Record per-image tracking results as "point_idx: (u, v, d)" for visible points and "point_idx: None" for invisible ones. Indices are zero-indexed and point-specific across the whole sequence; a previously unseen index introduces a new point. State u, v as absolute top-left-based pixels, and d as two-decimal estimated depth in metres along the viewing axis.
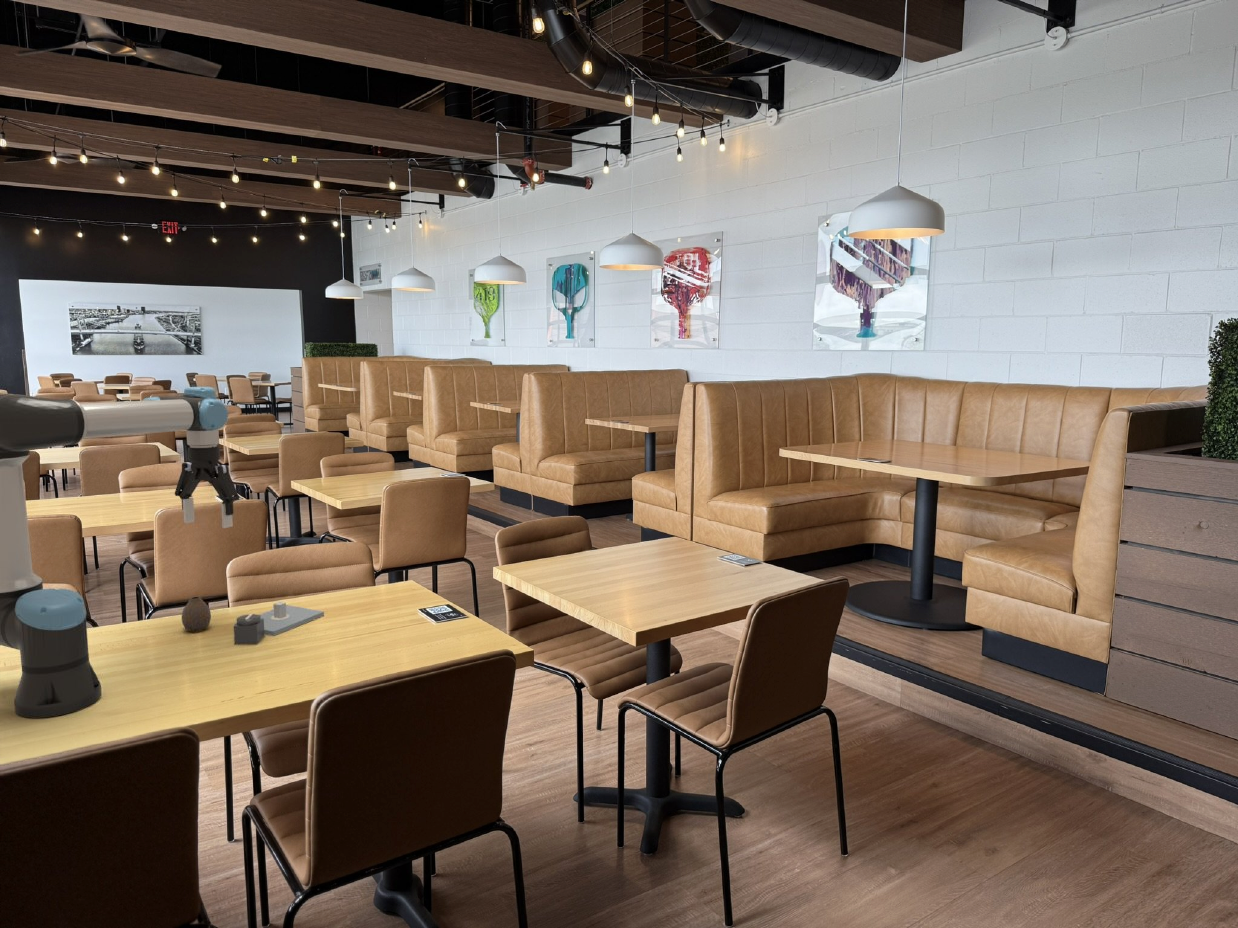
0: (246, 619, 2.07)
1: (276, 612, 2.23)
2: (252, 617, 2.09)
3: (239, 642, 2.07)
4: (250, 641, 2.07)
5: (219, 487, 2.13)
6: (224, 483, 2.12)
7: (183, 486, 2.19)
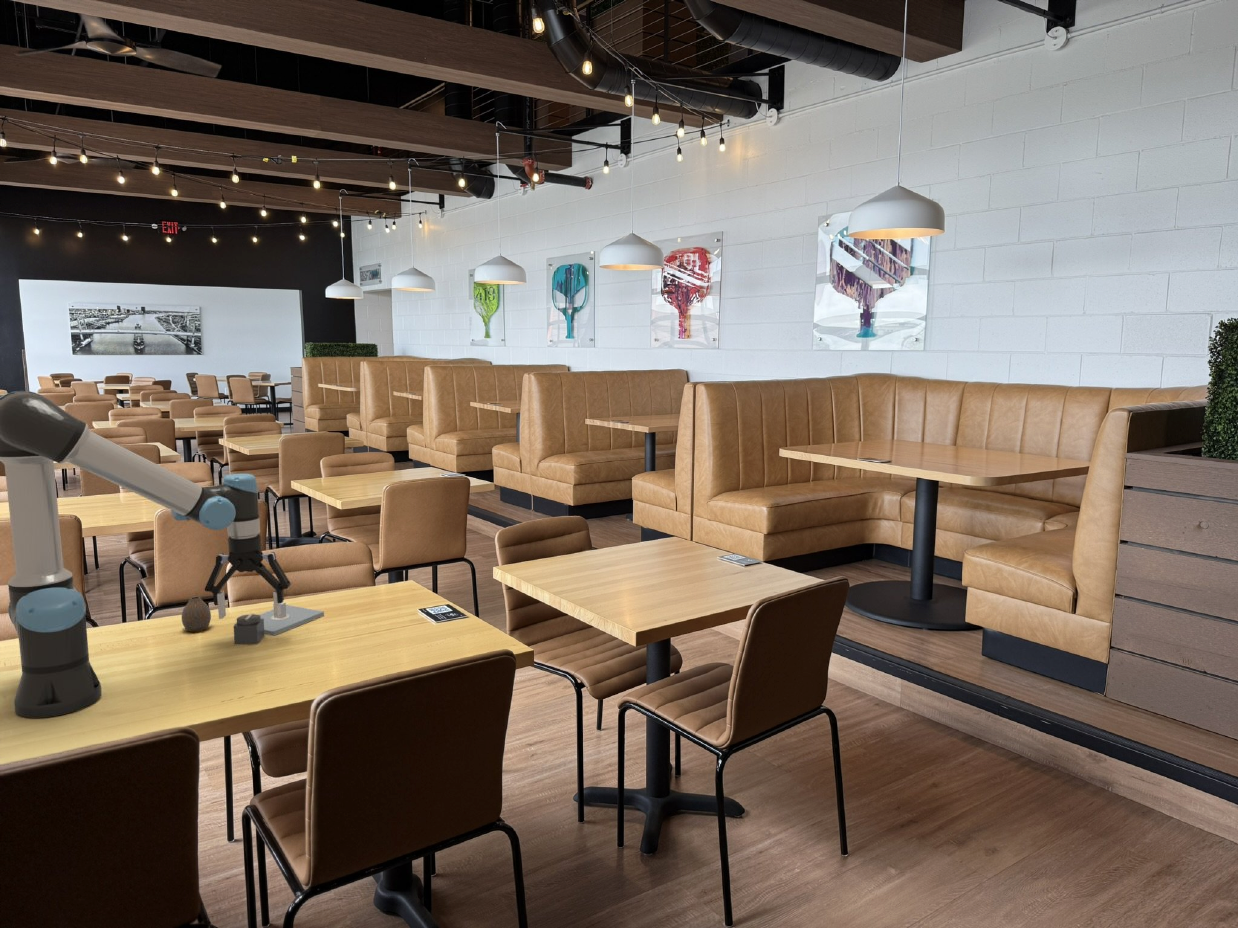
0: (246, 619, 2.07)
1: None
2: (252, 617, 2.09)
3: (239, 642, 2.07)
4: (250, 641, 2.07)
5: (269, 576, 2.07)
6: (277, 571, 2.07)
7: (214, 580, 2.06)
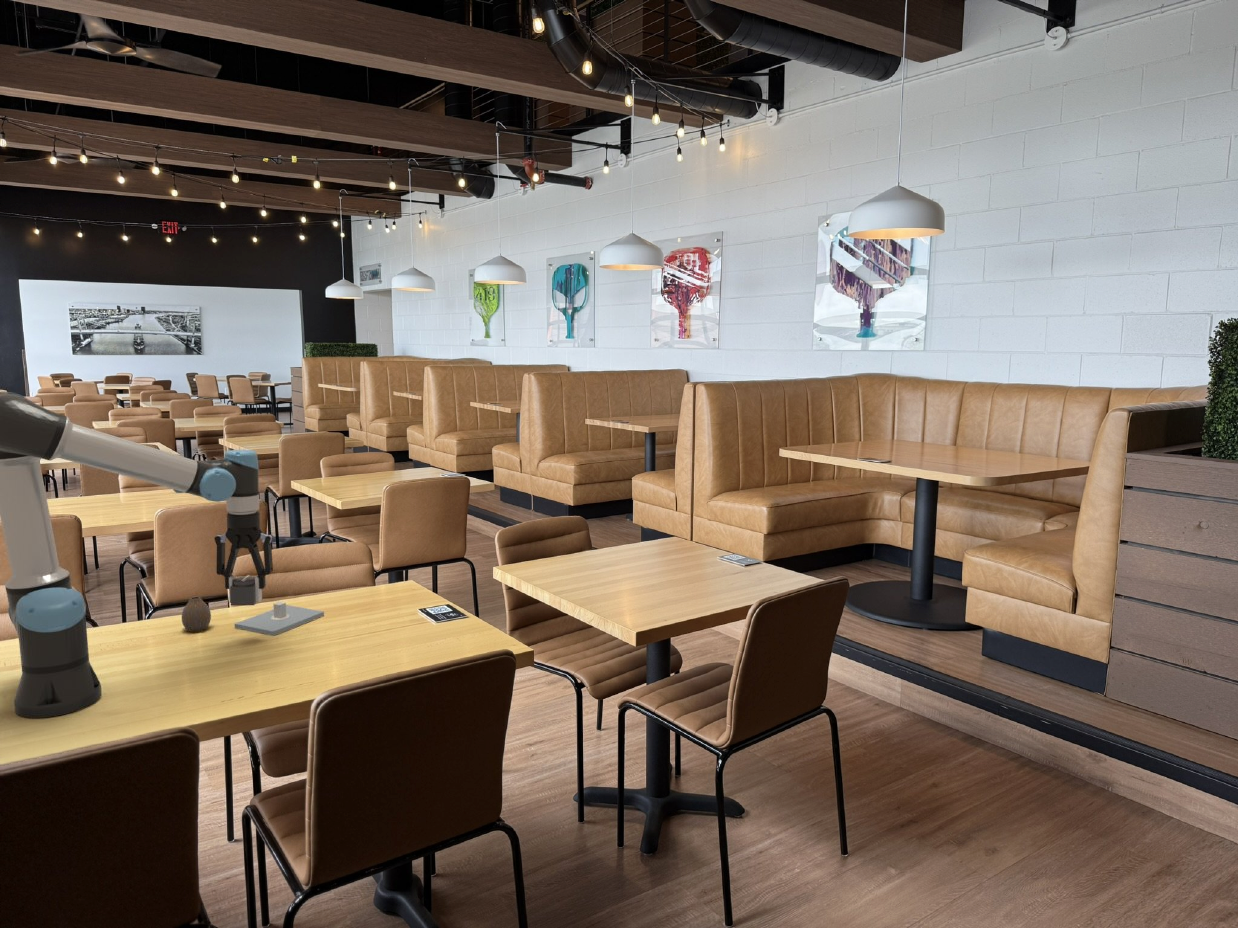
0: (243, 580, 2.06)
1: (276, 612, 2.23)
2: (249, 579, 2.08)
3: (235, 603, 2.05)
4: (246, 602, 2.05)
5: (258, 558, 2.06)
6: (267, 555, 2.06)
7: (223, 561, 2.06)
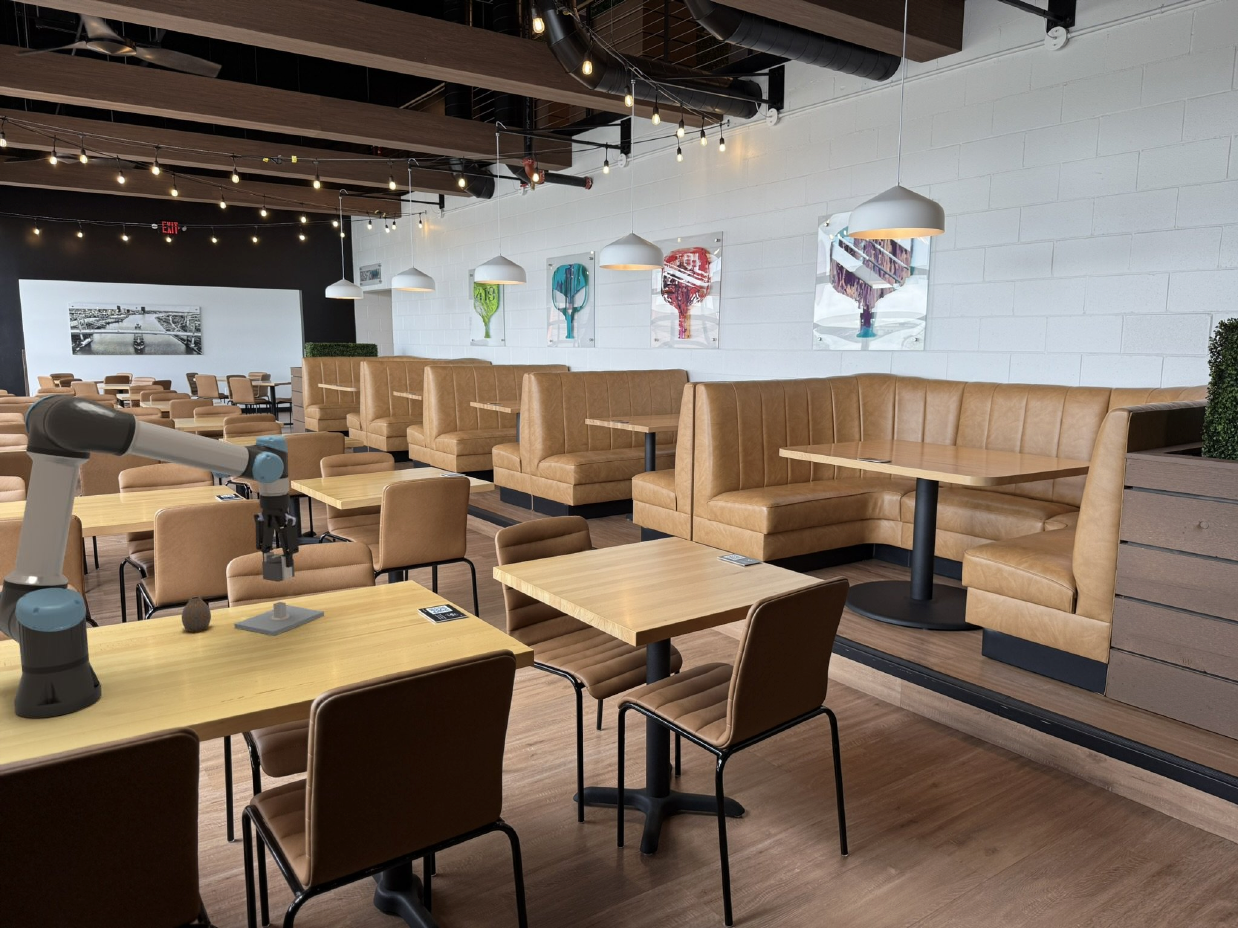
0: (272, 557, 2.20)
1: (276, 612, 2.23)
2: (280, 556, 2.21)
3: (266, 578, 2.20)
4: (273, 578, 2.19)
5: (283, 538, 2.18)
6: (289, 536, 2.17)
7: (261, 538, 2.23)
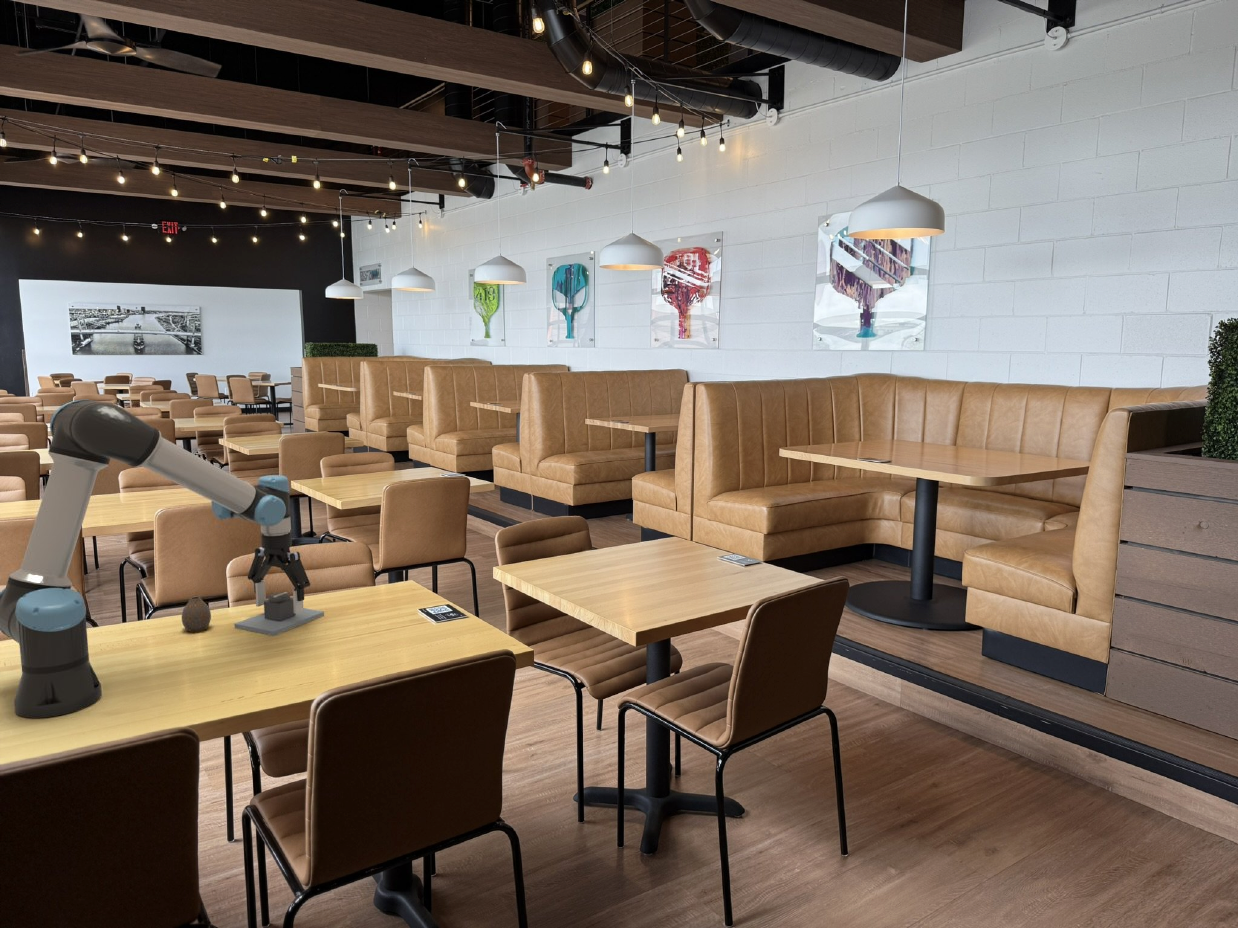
0: (274, 596, 2.21)
1: None
2: (282, 595, 2.23)
3: (267, 617, 2.22)
4: (275, 617, 2.21)
5: (291, 573, 2.19)
6: (296, 570, 2.18)
7: (256, 570, 2.25)
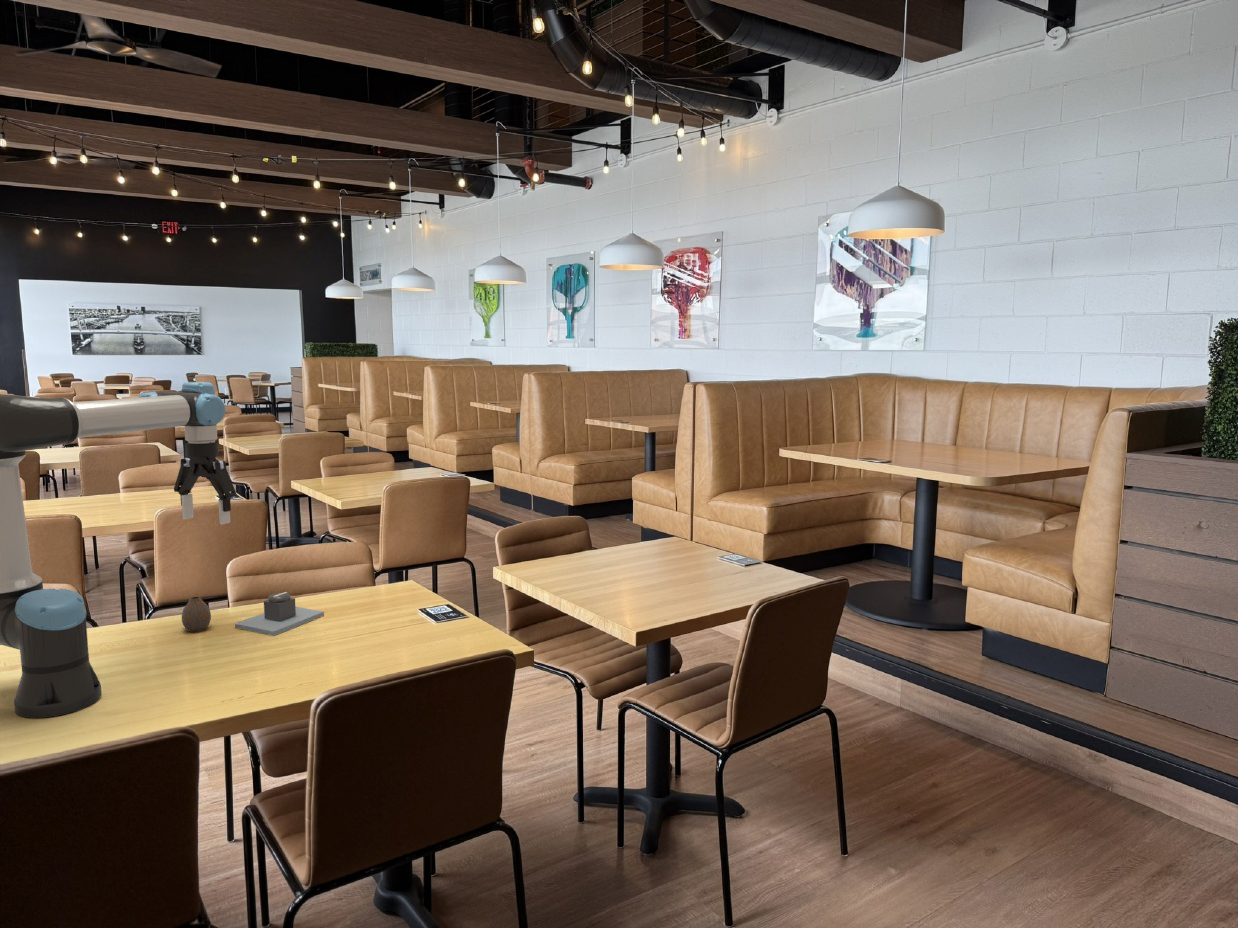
0: (274, 596, 2.21)
1: None
2: (282, 595, 2.23)
3: (267, 617, 2.22)
4: (275, 617, 2.21)
5: (216, 483, 2.12)
6: (221, 479, 2.11)
7: (182, 482, 2.18)
